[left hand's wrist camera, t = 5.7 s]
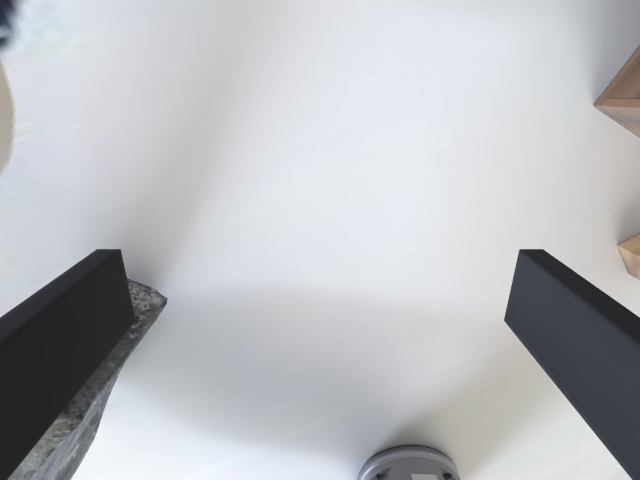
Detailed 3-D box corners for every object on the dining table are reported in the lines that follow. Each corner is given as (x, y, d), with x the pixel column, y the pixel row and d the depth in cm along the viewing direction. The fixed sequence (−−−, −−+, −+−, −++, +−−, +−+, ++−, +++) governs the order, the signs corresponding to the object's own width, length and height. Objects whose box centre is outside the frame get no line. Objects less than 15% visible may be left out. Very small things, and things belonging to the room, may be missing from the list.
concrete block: (117, 249, 42) (-42, 372, 24) (187, 286, 44) (91, 428, 25) (44, 399, 51) (-116, 578, 32) (106, 426, 52) (-12, 609, 34)
